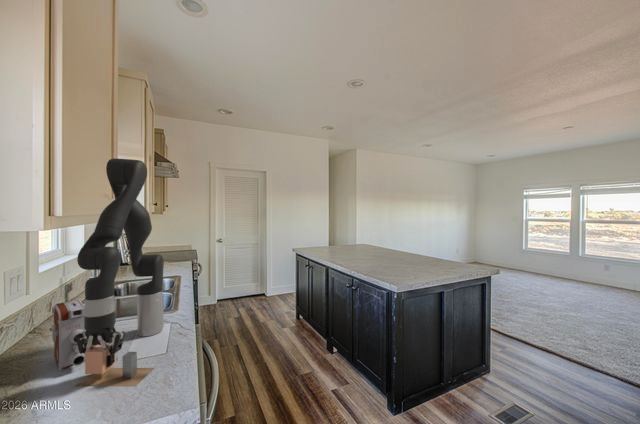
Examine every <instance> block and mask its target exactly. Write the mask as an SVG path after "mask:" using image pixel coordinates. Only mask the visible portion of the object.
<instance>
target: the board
mask: <svg viewBox="0 0 640 424" xmlns="http://www.w3.org/2000/svg"><path fill="white" fill-rule="evenodd" d="M154 370H155V367H137V374H136V375H135V376H134V377H133V378H132V379H123V367H111V368H110V369H108V375H106V376H105V377H104V378H102V379H93V374H88V376H86V377H85V378H83V379H82V380H81V381H80V382H78V383H77V384H76V385H75V387H137V386H138V385H139V384H140V383H141V382H142V381H143V380H145V378H147V376H148V375H150V373H152V372H153V371H154Z"/></svg>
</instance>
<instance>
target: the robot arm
mask: <svg viewBox="0 0 640 424" xmlns="http://www.w3.org/2000/svg"><path fill="white" fill-rule="evenodd" d="M105 169H106V177H107V181H108V182H109V186H110V188H111V190H112V192H113V196H114V198H115V199H114V200H112V201H111V202H110V203H109V204H108V205H107V206H105V208H104V209H103V210H102V212H101V213H100V215H99V218H98V220H97V223H96V226H95V229H94V230H93V233H92V234H91V235H90V236H89V237H88V239H87V240H86V241H85V243H84V244H83V246H82V247H81V248H80V250H79V252H78V254H77V259H76V261H77V264H78V266H79V267H80V268H81V269H83V270H86V271H87V270H88V271H90V270H91V271H94V270H95V271H97V270H98V271H99V274H98V275H97V276H95V277H91V278H89V279H87V280H86V281H85V283H84V284H85V285H84V304H83V305H84V329H85V330H86V332H85V331H83V332H81V333H79V334H77V335H76V336H75V338H76V342H77V346H78V350H79V353H80V354H82V353H84V354H85V352H86V351H88V350H91V349H92V348H93V347H95V346H97V345H101V346H102V349H104V350H106V355H107V356H106V366H107V367H110V366H111V365H113V363H114V362H115V355H116V354H117V352H119V351H121V350H122V347H123V343H124V339H125V335H126V331H125V330H124V331H117V330H116V327H115V324H116V319H117V318H116V317H117V316H116V298H115V281H116V277H117V274H118V271H119V267H120V264H121V258H122V255H121V252H120V251H119V249H118V248H117V247H114V246H107V245H108V244H111V243H113V242H117V241H119V240H120V238H121V237H122V234H123V231H124V234H125V237H126V242H127V244H128V251H129V257H130V263H131V269H132V273H133V275H134V276H135V277H136V278H137V277H139V278H142V277H145V278H146V277H151V280H150V281H148V282H146V283H142V284H141V285H139V286H138V287H137V289H136V291H137V292H136V293H137V294H136V295H137V301H136V302H137V304H136V305H137V309H136V310H137V311H136V312H137V315H136V316H137V318H136V320H137V336H139V337H151V336H154V335H157V334H160V333H161V332H162V331H163V330H164V327H165V326H164V321H165V320H164V316H165V315H164V306H163V305H164V304H163V303H164V302H163V300H164V299H163V298H164V297H163V289H164V288H163V287H164V286H163V285H164V264H165V263H164V257H163V255H162V254H159V253H158V254H157V253H156V254H144V253H143V249H142V248H143V247H144V244H145V242H146V241H147V240H148V238H149V236H150V235H151V233H152V229H153V225H152V221H151V215H150V213H149V211H148V210H147V209H146V207H144V205H143V204H142V203H141V202H140V201H139V200H138V197H139V195H140V193H141V191H142V190H143V187H144V185H145V183H146V182H147V181H146V180H147V178H148V177H147V176H148V168H147V165H146V163H145V161H142V160H139V159H128V158H115V157H114V158H110V159H109V160H108V161H107V163H106V167H105ZM106 343H108V344H106ZM83 344H84V347H83ZM110 346H111V350H110V348H109V347H110Z"/></svg>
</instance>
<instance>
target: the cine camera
mask: <svg viewBox="0 0 640 424" xmlns="http://www.w3.org/2000/svg"><path fill="white" fill-rule="evenodd" d="M51 314H52V315H53V325H52V326H51V336H52V337H51V338H52V343H53V347H54V348H53V349H54V350H53V352H54V353H53V354H54V359H55V360H54V361H55V362H56V365H57V368H58V370H59V371H61V370H65V369H68V368H71V367H73V366H75V367H77V366H81V365H82V364H83V363H85V354H84V353H82V354H80V353H79V350H78V346H77V342H76V338H75V336H76V335H77V334H79V333H81V332H83V331H85V332H86V330H85V329H84V304H83V303H82V302H81V300H80V299H74V300H69V301H65V302H58V303H56V304H54V305H53V306H52V307H51ZM83 347H84V344H83Z"/></svg>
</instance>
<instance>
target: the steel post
mask: <svg viewBox="0 0 640 424" xmlns="http://www.w3.org/2000/svg"><path fill="white" fill-rule="evenodd" d="M137 355H138V353H137V351H128V352H126V353H124V355H122V360H121V361H122V368H123V379H132V378H133V377H134V376H135V375H136V374H137V368H138V356H137Z"/></svg>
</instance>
